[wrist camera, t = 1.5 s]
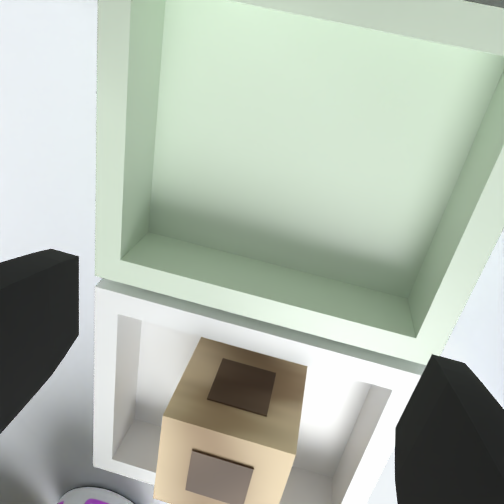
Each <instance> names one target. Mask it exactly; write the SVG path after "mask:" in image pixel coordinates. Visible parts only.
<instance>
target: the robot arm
mask: <svg viewBox="0 0 504 504" xmlns="http://www.w3.org/2000/svg"><path fill="white" fill-rule="evenodd" d="M78 335H79V256H75V255H72V254H68V253H64V252H61V251H57V250H54V249H49V250H44V251H39V252H36V253H32V254H28V255H25V256H21V257H18V258H14V259H11V260H8V261H4V262H1V263H0V434H1V432H2V431H3V430H4V429H5V428H6V427H7V426H8V425H9V423H10V422H11V421H12V420H13V419H14V418H15V417H16V416H17V414H18V413H19V412H20V411H21V410H22V409H23V408H24V406H25V405H26V404H27V403H28V402H29V401H30V400H31V398H32V397H33V396H34V395H35V394H36V393H37V392H38V390H39V389H40V388H41V387H42V386H43V385H44V383H45V382H46V381H47V380H48V379H49V378H50V376H51V375H52V374H53V372H54V371H55V370H56V368H57V367H58V365H59V364H60V362H61V361H62V359H63V358H64V357H65V355H66V354H67V352H68V350H69V349H70V347H71V346H72V344H73V343H74V341H75V340H76V338H77V337H78ZM395 484H396V493H397V502H398V504H504V409H503V408H502V407H501V406H500V404H499V403H498V402H497V401H496V399H495V398H494V397H493V396H492V394H491V393H490V392H489V391H488V390H487V388H486V387H485V386H484V385H483V383H482V382H481V381H480V380H479V379H478V378H477V376H476V375H475V374H474V373H473V372H472V371H471V370H470V368H469V367H468V366H467V365H466V364H465V363H462V362H459V361H455V360H451V359H448V358H444V357H441V356H437V355H433V354H432V355H431V357H430V359H429V361H428V363H427V365H426V367H425V369H424V371H423V373H422V375H421V377H420V379H419V381H418V383H417V385H416V387H415V389H414V391H413V393H412V395H411V397H410V399H409V401H408V403H407V405H406V407H405V409H404V411H403V413H402V415H401V417H400V419H399V421H398V423H397V425H396V427H395Z"/></svg>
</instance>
